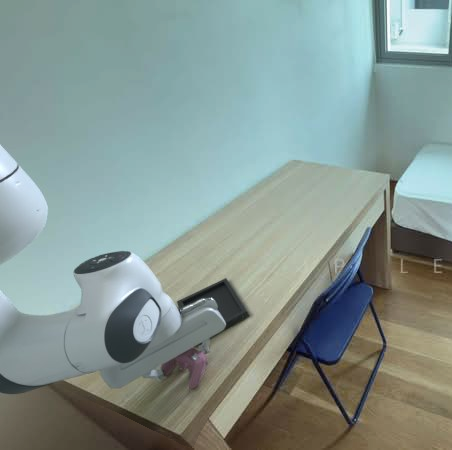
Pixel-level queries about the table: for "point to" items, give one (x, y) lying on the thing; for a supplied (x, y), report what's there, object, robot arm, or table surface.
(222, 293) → the black rectangular tray
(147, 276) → the robot arm
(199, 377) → the video game controller
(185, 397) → the table surface
